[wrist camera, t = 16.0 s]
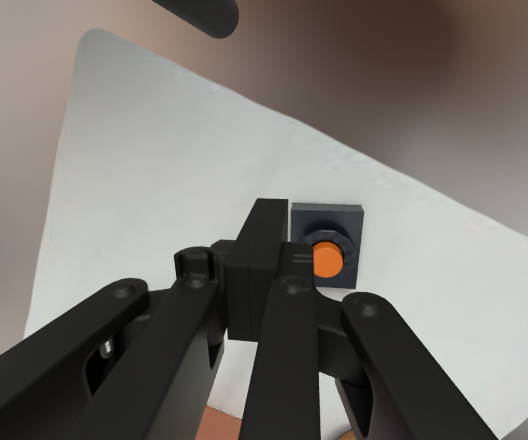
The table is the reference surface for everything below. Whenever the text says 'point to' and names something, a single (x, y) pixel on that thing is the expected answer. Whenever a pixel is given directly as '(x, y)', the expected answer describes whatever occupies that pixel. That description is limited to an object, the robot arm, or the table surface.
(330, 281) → the button block
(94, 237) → the table surface
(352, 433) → the bread roll
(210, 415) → the house
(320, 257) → the button
